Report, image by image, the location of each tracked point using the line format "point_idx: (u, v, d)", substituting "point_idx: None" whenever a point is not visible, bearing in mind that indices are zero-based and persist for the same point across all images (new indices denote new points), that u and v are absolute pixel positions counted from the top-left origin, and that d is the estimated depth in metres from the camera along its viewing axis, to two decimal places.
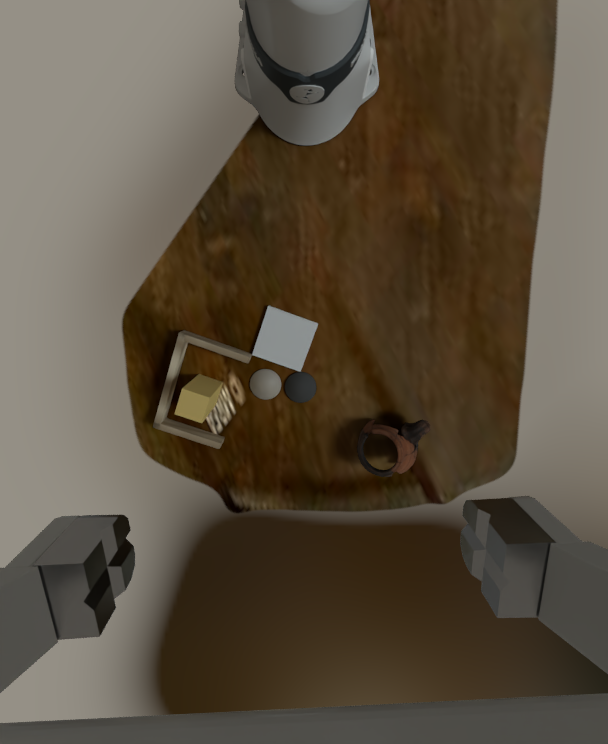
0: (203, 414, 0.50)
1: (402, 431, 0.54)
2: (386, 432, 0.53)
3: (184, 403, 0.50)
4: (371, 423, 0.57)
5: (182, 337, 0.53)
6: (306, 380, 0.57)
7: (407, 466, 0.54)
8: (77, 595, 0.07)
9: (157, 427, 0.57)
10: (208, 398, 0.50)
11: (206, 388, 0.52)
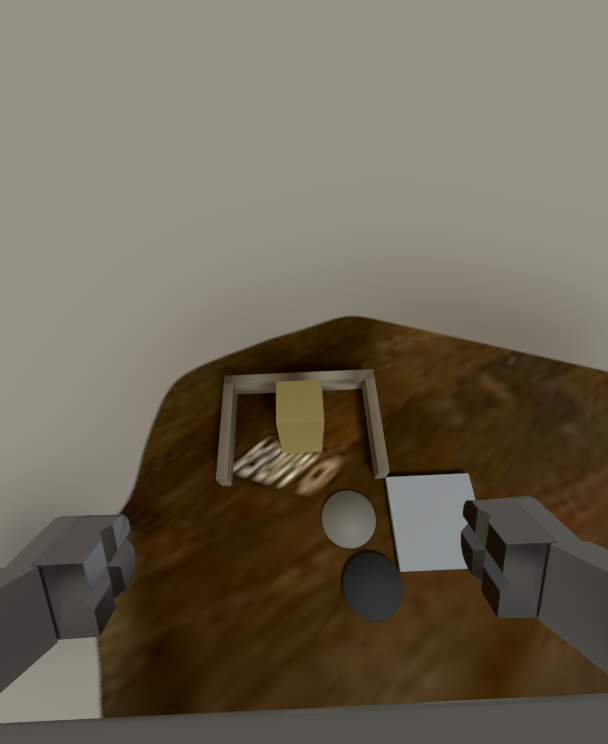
0: (292, 421, 0.30)
1: None
2: None
3: (298, 388, 0.31)
4: None
5: (368, 374, 0.38)
6: (390, 590, 0.30)
7: None
8: (77, 595, 0.07)
9: (226, 381, 0.38)
10: (322, 419, 0.30)
11: None
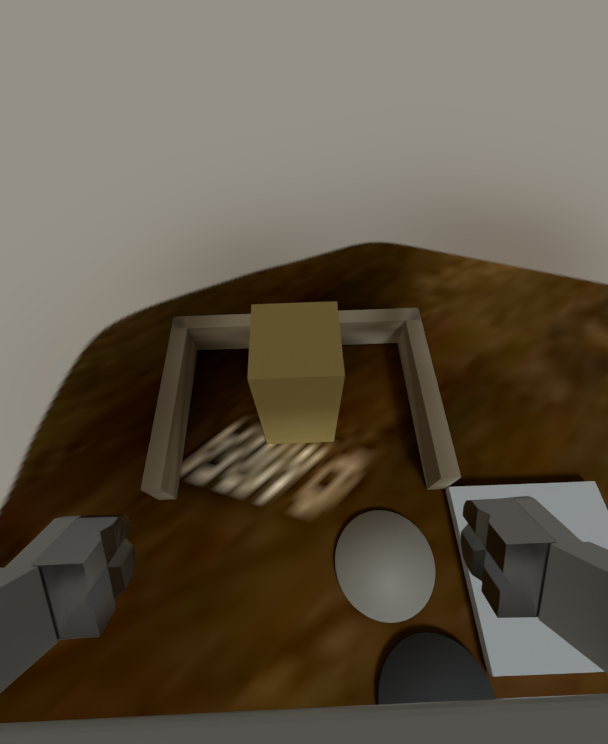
0: (279, 374, 0.15)
1: None
2: None
3: (294, 316, 0.16)
4: None
5: (411, 316, 0.23)
6: None
7: None
8: (77, 595, 0.07)
9: (175, 325, 0.23)
10: (340, 372, 0.15)
11: None
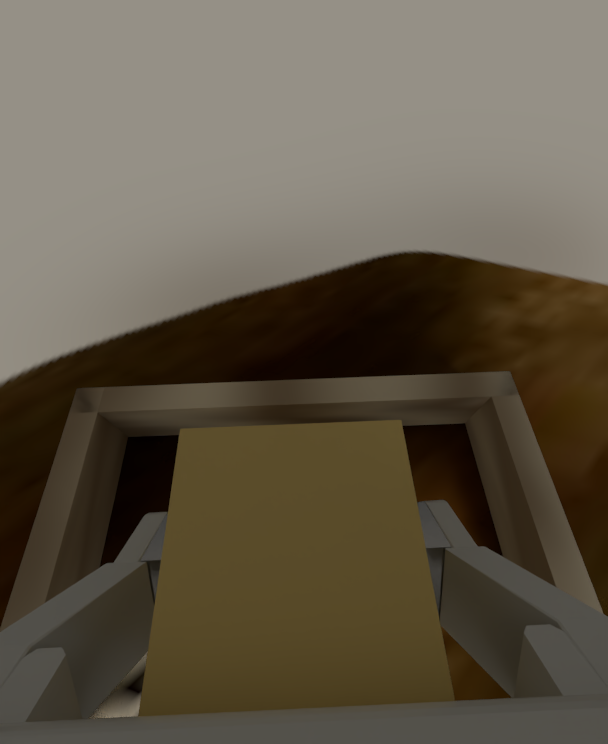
0: (244, 709, 0.05)
1: None
2: None
3: (292, 470, 0.06)
4: None
5: (501, 387, 0.13)
6: None
7: None
8: None
9: (77, 405, 0.13)
10: (442, 700, 0.05)
11: None
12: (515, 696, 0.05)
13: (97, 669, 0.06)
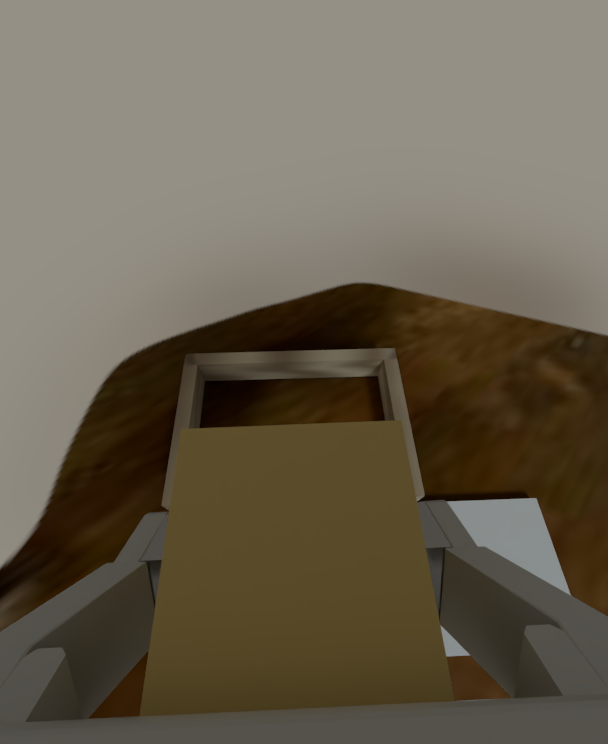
0: (245, 709, 0.05)
1: None
2: None
3: (292, 471, 0.06)
4: None
5: (389, 355, 0.27)
6: None
7: None
8: None
9: (187, 361, 0.27)
10: (442, 700, 0.05)
11: None
12: (515, 696, 0.05)
13: (97, 669, 0.06)
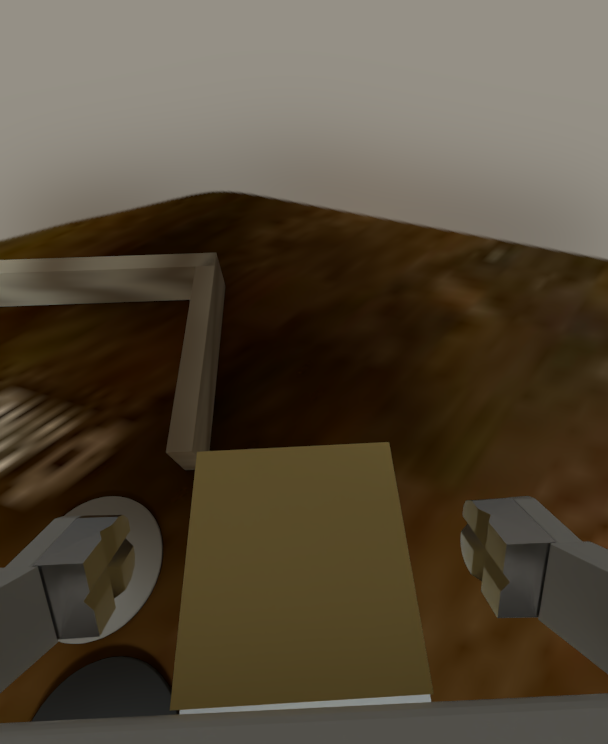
0: (258, 690, 0.06)
1: None
2: None
3: (294, 488, 0.07)
4: None
5: (204, 261, 0.19)
6: None
7: None
8: (77, 595, 0.07)
9: None
10: (421, 680, 0.06)
11: None
12: None
13: None
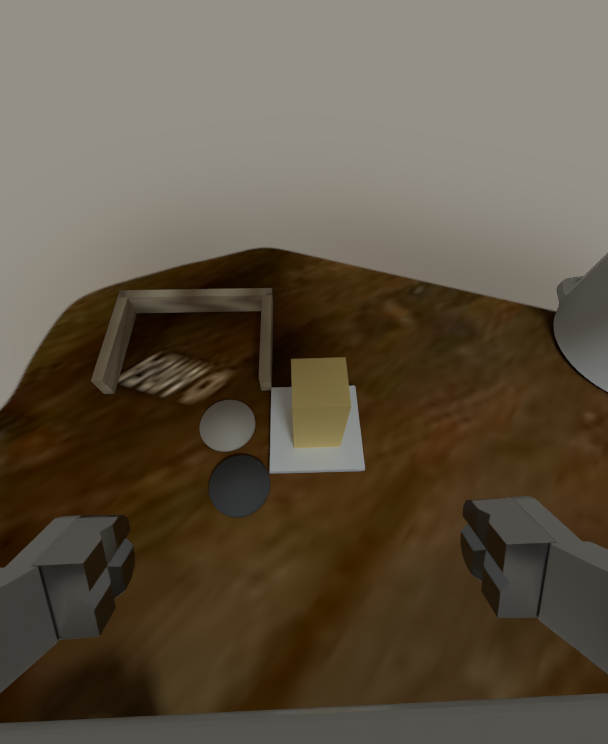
0: (311, 405, 0.24)
1: None
2: None
3: (318, 367, 0.26)
4: None
5: (266, 292, 0.38)
6: (256, 489, 0.29)
7: None
8: (77, 595, 0.07)
9: (120, 295, 0.37)
10: (348, 404, 0.24)
11: None
12: None
13: None
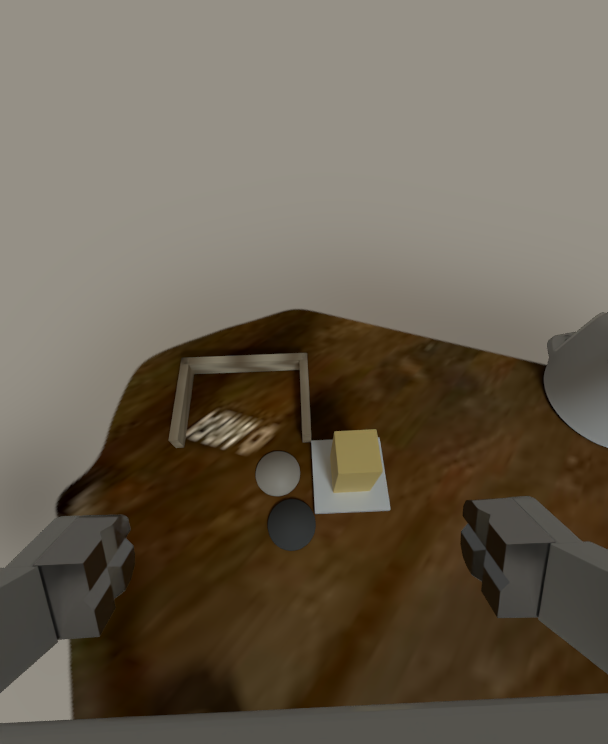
0: (353, 471, 0.32)
1: None
2: None
3: (356, 438, 0.34)
4: None
5: (302, 357, 0.45)
6: (305, 527, 0.37)
7: None
8: (77, 595, 0.07)
9: (182, 362, 0.45)
10: (381, 469, 0.32)
11: None
12: None
13: None
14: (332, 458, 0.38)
